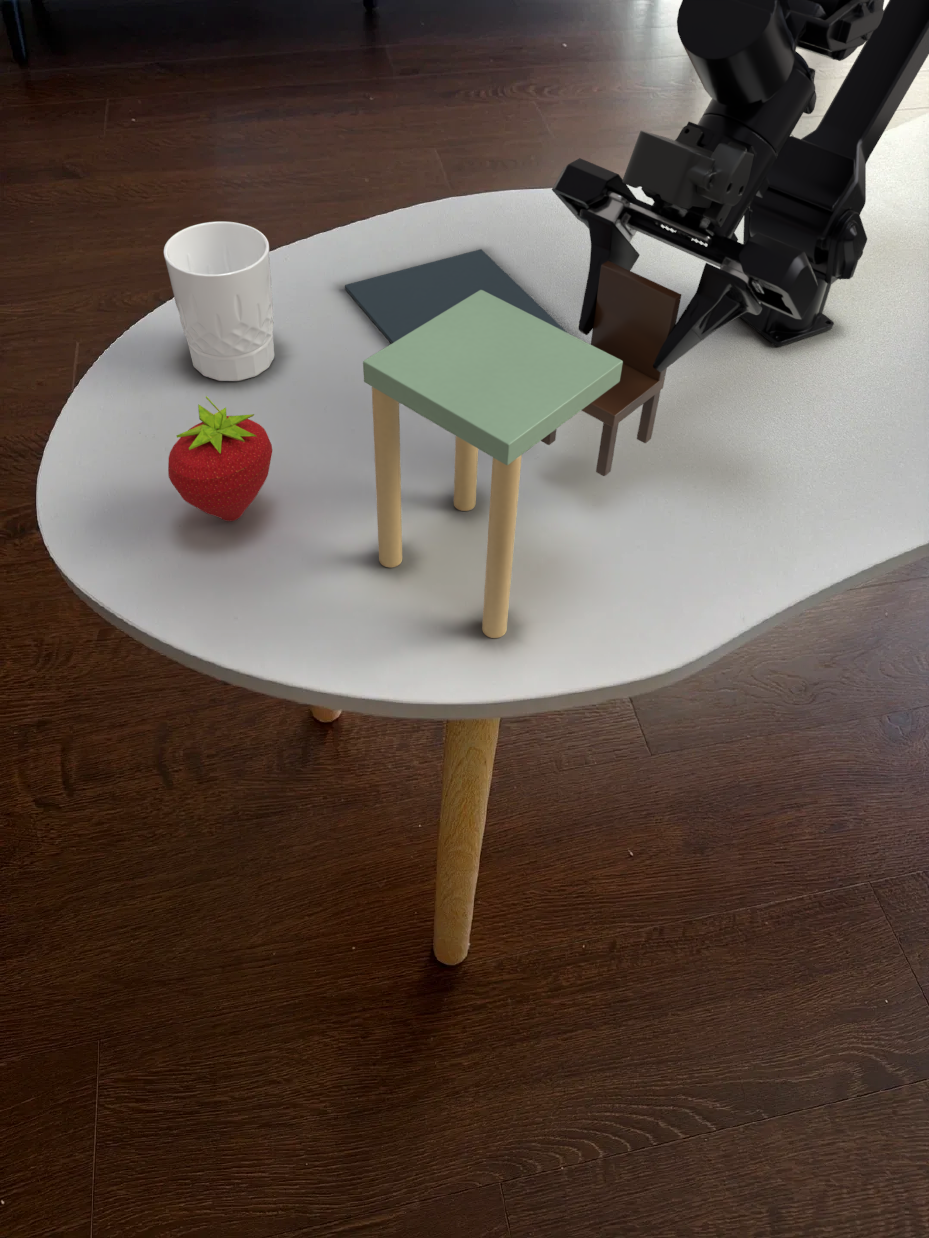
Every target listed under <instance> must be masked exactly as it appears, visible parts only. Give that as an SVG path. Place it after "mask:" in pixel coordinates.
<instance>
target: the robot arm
mask: <svg viewBox="0 0 929 1238" xmlns="http://www.w3.org/2000/svg"><path fill="white" fill-rule="evenodd" d="M884 4H885V0H681V3H680V5H679V8H678V11H677V18H676V29H677V34H678V37H679V40H680V42H681V44H682V47H683V49H684V50H685V52H686V54H687V56H688V58H689V60H690V62H691V65H692V67H693V69H694V70H695V72H696V75H697V77H698V79H699V80H700V83H701V85H702V86H703V89H704V90H705V92H706V93H707V94H708V96H709V97H710V98H711V100H710V101H709V103H708V105H707V107H706V108H705V111H704V112H703V114H702V116H701V117H700V119H699V121H698V123H694V122H693V121H688V122H687V124H686V125H684V126H683V127H682V129H681V130H680V132H679V134H678V136H677V137H676V138H675V139H672V138H669V137H667V136H662V135H659V134H655V133H651V132H648V131H644V130H640V131H639V134H638V136H637V139H636V142H635V145H634V148H633V150H632V153H631V156H630V158H629V160H628V164H627V166H626V170H625V172H624V175H623V177H621V175H620V174H619V173H616V172H614V171H612V170H609V169H608V168H605V167H602V166H600V165H597V164H595V163H593V162H591V161H588V160H585V159H583V158H580V157H579V158H577V159H575V160H573V161H572V162H570V163H568V164H567V165H565V166H564V167H563V168H562V169H561V171H560V173H559V175H558V177H557V179H556V181H555V183H554V185H553V186H552V188H551V191H552V192H553V193H554V194H555V195H556V197H557V198H558V199H559V200H560V201H561V202H562V203H563V204H564V206H565V207H566V208H567V209H568V211H570V212H571V214H572V215H573V216H574V217H575V218H576V219H577V220H578V221H579V222H581V223H583V224H584V226H585V227H587V229H588V231H589V238H590V255H589V256H590V257H589V267H588V272H587V273H588V274H587V279H586V283H585V289H584V295H583V300H582V305H581V310H580V317H579V322H578V327H577V328H578V331H579V332H580V333H582V334H583V335H585V336H588V335H589V334H590V333H591V332H592V331H593V326H594V318H595V308H596V301H597V294H598V286H599V279H600V271H601V265H602V264H604V263H605V262H607V261H610V262H612V263H614V264H616V265H618V266H621V267H623V268H625V269H627V270H629V271H632V269H633V267H634V266H635V264H636V262H637V260H638V259H639V257H640V253H639V252H638V250H636V248H635V247H634V245H632V243H631V241H633V240H632V239H633V238H634V236H636V233H637V232H639V233H640V234H643V235H646V236H648V237H650V238H652V239H654V240H656V241H659V242H661V243H663V244H665V245H668V246H670V247H672V248H675V249H677V250H679V251H680V252H681V251H682V252H684V253H686V254H689V255H691V256H693V257H695V258H697V259H700V260H701V261H704V262H705V264H704V266H703V270H702V273H701V276H700V279H699V282H698V286H697V288H696V290H695V293H694V295H693V296H692V298H691V300H690V301H689V303H688V304H687V306H686V307H685V309H684V310H683V312H682V314H681V315H680V317H679V318H678V320H677V321H676V325H675V326H674V328H673V329H672V331H671V332H670V334H669V336H668V337H667V339H666V340H665V342H664V343H663V345H662V347H661V349H660V351H659V353H658V355H657V357H656V359H655V361H654V363H653V368H654V369H655V370H656V371H658V372H662V371H663V370H665V369H666V368H667V369H668V368H669V367H670V366H671V365H673V364H674V363H675V362H676V361H678V360H679V359H680V358H681V357H683V356H685V354H687V353H688V352H690V350H692V349H693V348H694V347H696V346H697V345H698V344H700V343H701V342H702V341H704V340H705V339H706V338H708V337H709V336H710V335H712V334H713V333H715V332H717V331H718V330H720V329H722V328H723V327H724V326H726V325H728V324H729V323H731V322H732V321H734V320H736V319H737V318H741V319H742V320H743V321H744V322H745V323H747V324H748V325H749V326H750V327H751V328H753V329H754V330H755V331H756V332H758V333H759V334H760V335H762V337H764V338H765V339H766V340H767V341H769V342H770V344H772V345H774V346H776V347H782V346H786V345H788V344H791V343H794V342H797V341H800V340H804V339H806V338H809V337H812V336H815V335H818V334H821V333H824V332H826V331H831V329H833V327H834V325H835V324H834V321H833V320H832V319H830V318H829V317H828V316H827V315H825V314H824V313H823V312H824V310H825V307H826V303H827V300H828V297H829V293H830V290H831V287H832V285H833V284H834V283H835V282H836V281H838V280H851V279H852V278H853V277H854V275H855V272H856V269H857V265H858V263H859V260H860V259H861V258H862V257H863V254H864V249H865V247H866V244H867V242H868V237H867V233H866V230H865V227H864V224H863V221H862V218H861V213H862V211H863V210H864V207H865V206H866V202H867V192H866V190H867V188H866V187H867V178H866V177H867V174H866V173H867V172H866V171H867V170H866V169H867V166H866V165H867V163H868V161H869V158H870V156H871V155H872V153H873V152H874V150H875V148H876V146H877V145H878V143H879V141H880V139H881V138H882V136H883V134H884V132H885V131H886V129H887V127H888V126H889V124H890V122H891V121H892V118H893V117H894V116H895V114H896V112H897V110H898V108H899V106H901V104H902V101H903V100H904V98H905V96H906V94H907V93H908V91H909V89H910V87H911V86H912V84H913V82H914V81H915V79H916V77H917V76H918V74H919V72H920V71H921V69H922V67H923V65H924V63H925V62H926V60H927V59H928V56H929V0H888V2H887V4H886V5H885V7H884ZM861 46H862V48H861V49H860V51H859V53H858V55H857V57H856V59H855V60H854V62H853V64H852V66H851V67H850V69H849V70H848V72H847V74H846V76H845V78H844V80H843V82H842V83H841V84H840V86H839V88H838V90H837V92H836V94H835V96H834V97H833V99H832V101H831V103H830V104H829V106H828V108H827V110H826V112H825V113H824V115H823V117H822V118H821V121H820V122H819V124H818V125H817V127H816V129H814V130H813V131H811V132H810V133H808V134H806V135H805V136H803V137H802V138H799V137H796V136H794V135H792V133H793V132H794V129H795V128H796V126H797V124H798V123H799V121H800V119H801V117H802V116H803V114H806V115H811V114H812V113H813V112H814V110H815V107H816V102H817V93H816V84H815V78H816V77H815V76H816V69H815V68H812V67H810V66H809V63H808V62H807V61H806V59H805V58H804V57H803V56H802V55H801V54H800V53H799V52H798V51H797V49H800V50H803V51H805V52H809V53H812V54H815V55H818V56H821V57H823V58H827V59H830V60H834V61H839V62H841V61H844V60H846V59H847V58H848V57H850V56H851V55H852V54H853V53H854V52H855V51H856V50H857V49H858V48H859V47H861ZM629 187H630V188H633V189H638V188H640V190H641V191H642V193H643V194H644V195H645V197H647V198H649V199H651V200H652V201H653V203H652V204H649V203H647V202H645V201H643V200H640V199H638V198H637V197H636V196H635V194H634V193H633V191H631V189H630V188H629ZM742 220H743V237H742V238H743V241H742V242H739V238H738V237H737V235H736V233H735V232H736V230H737V229H738V227H739V225H740V224H741V222H742ZM666 227H667V228H668V229H667V228H666ZM672 230H673V231H672ZM701 242H702V244H701Z"/></svg>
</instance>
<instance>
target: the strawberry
mask: <svg viewBox="0 0 929 1238" xmlns="http://www.w3.org/2000/svg"><path fill="white" fill-rule="evenodd" d="M205 398H206V400H207V401H208V402H209V403H210V404H211V405H212V406H213V407H214V409H216V410H217V411H216V412H215V413H212V412H211V411H210V410H208V409H206V408H205V407H204V406H202V405H201V404H198V405H197V409H198V418H199V420H200V421H201V422H199V423H197V424H195V425H193V426H192V427H190V428H189V429H188V430H185V431H183V432H180V433H179V434H176V438H177V439H178V440H177V441H176V442H175V443H174V445H173V446H172V448H171V449H170V451H169V455H168V462H167V463H168V467H167V468H168V469H167V473H168V479H169V481H170V482H171V484H172V485H173V487H174V488H175V490H176V491H177V493H178V494H179V495H180V497H181V499H182V500H184V502H185V503H187V504H189V505H191V506H193V507H195V508H196V509H198V510H200V511H202V512H203V513H206V514H208V515H211V516H214V517H217V518H219V519H221V520H223V521H225V522H234V521H237V520H238V519H239V518H241V517H242V515H244V513H245V511H246V510H247V509H248V508H249V506H250V505H251V504H252V503H253V501H254V500H255V499H256V497H257V495H258V494H259V492H260V490H261V489H262V487H263V486H264V484H265V482H266V481H267V478H268V476H269V472H270V467H271V466H270V465H271V461H272V457H273V445H272V442H271V440H270V437H269V434H268V432H267V431H266V429H265V428H264V426H262V425H261V424H260V423H258V422H257V421H255V420H252V419H251V418H253V417H254V416H255V414H254V413H249V414H240V415H238V414H237V415H228V414H227V407H224V408H222V409H219V408H218V407H217V405H215V403H214V402H213V401H212V400H211V399H210V398H209V397H208V396H207V395H206V396H205Z"/></svg>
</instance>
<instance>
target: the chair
mask: <svg viewBox="0 0 929 1238" xmlns="http://www.w3.org/2000/svg"><path fill="white" fill-rule="evenodd" d="M681 299H682V293H679V292H677V291H675V290H673V289H670V288H668V287H666V286H664V285H662V284H660V283H658V282H655V281H653V280H651V279H649V278H646V277H645V276H643V275H640V274H638V273H636V272H634V271H632V270H630V271H629V270H627V269H625V268H623V267H621V266H618V265H616V264H614V263H612V262H610V261H607V262H605V263H604V264H602V265H601V271H600V279H599V286H598V294H597V301H596V308H595V318H594V326H593V329H592V330H591V340H590V345H592V346H594V347H596V348H598V349H600V350H602V351H604V352H606V353H608V354H610V355H612V356H614V357H616V358H618V359H620V360H622V361H623V364H622V370H621V376H620V381H619V382H618V383H617V384H616V385H614V386H613V387H612V388H610V389H609V390H608V391H606V392H605V393H604V394H602V395H601V396H600V397H598V398H597V399H596V400H594V401H593V402H592V403H590V404H589V405H588V406H586V407H585V408H584V409H582V410H581V411H580V412H583V413H585V414H587V415H589V416H591V417H592V418H595V419H596V420H598V421H600V422H602V423H603V424H602V429H601V435H600V443H599V447H598V456H597V462H596V467H595V472H596V473H597V474H599V475H600V476H602V477H606V476H607V475H609V474H610V473H611V471H612V466H613V459H614V454H615V447H616V442H617V437H618V430H619V423H621V422H622V421H623V420H624V419H626V418H628V417H629V416H630V415H631V414H632V413H634V412H635V411H636V410H638V409H639V408H640V407H641V406H642V408H641V412H640V418H639V419H640V420H639V423H638V424H639V425H638V430H637V435H636V440H637V441H640V442H641V443H643V444H647V443H648V442H649V441H650V440H651V439H652V438H653V437H652V436H653V431H654V426H655V421H656V417H657V411H658V406H659V400H660V397H661V390H663V388H664V385H665V380H666V375H667V369H668V367H667V368H666V369H665V370H663V371H662V372H658V371H656V370H655V369H654V368H653V363H654V361H655V359H656V357H657V355H658V353H659V351H660V349H661V347H662V345H663V343H664V342H665V340H666V339H667V337H668V336H669V334H670V332H671V331H672V329H673V328H674V326H675V325H676V323H677V321H678V320H677V319H678V314H679V310H680V306H681ZM557 430H558V428H557V429H555V430H554V431H553V432H551V433H550V434H549V435H547V436H546V437H545V438H543V439H542V440H541V441H540V442H542V443H544V444H545V445H547V446H550V445H552V444H553V443H554V442H556V439H557Z"/></svg>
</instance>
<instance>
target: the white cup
mask: <svg viewBox="0 0 929 1238" xmlns="http://www.w3.org/2000/svg"><path fill="white" fill-rule="evenodd" d="M163 257H164V261H165V265H166V270H167V273H168V277H169V280H170V285H171V289H172V294H173V298H174V302H175V307H176V309H177V311H178V312H177V313H178V316H179V320H180V325H181V327H182V328H181V329H182V331H183V335H184V337H185V338H186V341H187V345H188V350H189V352H190V357H191V362H192V365H193V368H195V369H196V370H197V371H198V372H199V373H200V374H201V375H202V376H204V377H207V378H210V379H212V380H215V381H219V382H240V381H244V380H247V379H250V378H255V377H257V376H258V375H260V374H262V373H263V372H264V371H266V370H268V369H269V368H270V366H271V364H272V362H273V360H274V359H275V345H274V331H273V329H274V301H273V300H274V299H273V287H272V271H271V269H272V268H271V257H270V243H269V240H268V238H267V237H266V235H264V233H262V231H260V230H258V229H257V228H255V227H253V226H250V225H247V224H244V223H241V222H240V223H239V222H233V221H208V222H202V223H198V224H194V225H190V226H188V227H185V228H183V229H181V230H179V231H178V232H176V233H174V234H173V235H172V236H171V237H170V238H168V240H167V241H166V243H165V245H164V247H163Z"/></svg>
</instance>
